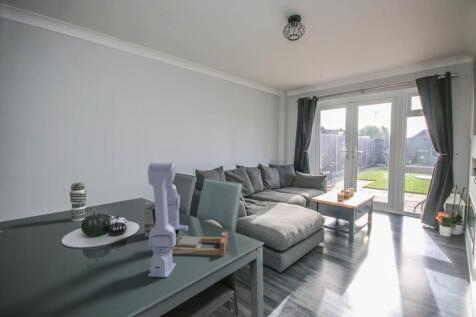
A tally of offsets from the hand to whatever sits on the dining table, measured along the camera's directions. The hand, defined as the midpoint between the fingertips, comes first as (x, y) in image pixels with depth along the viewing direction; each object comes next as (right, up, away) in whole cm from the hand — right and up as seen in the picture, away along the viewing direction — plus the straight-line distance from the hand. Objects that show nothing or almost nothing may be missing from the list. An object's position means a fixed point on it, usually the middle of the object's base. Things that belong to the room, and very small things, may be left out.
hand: (173, 243), depth 110 cm
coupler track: (+13, -2, -1) cm, 13 cm away
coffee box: (-15, -1, +15) cm, 22 cm away
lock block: (+8, -2, -1) cm, 8 cm away
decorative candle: (-78, +1, +41) cm, 88 cm away
